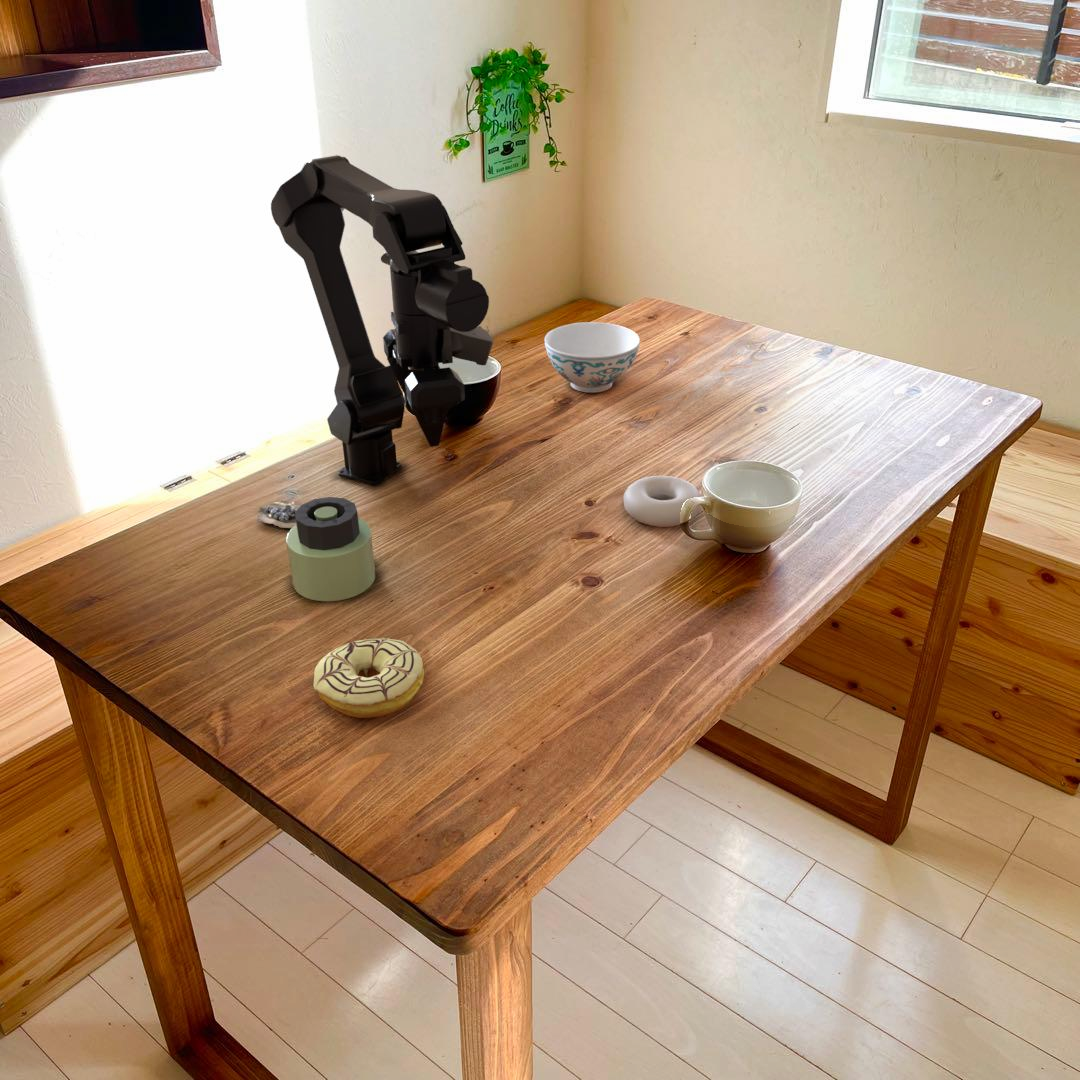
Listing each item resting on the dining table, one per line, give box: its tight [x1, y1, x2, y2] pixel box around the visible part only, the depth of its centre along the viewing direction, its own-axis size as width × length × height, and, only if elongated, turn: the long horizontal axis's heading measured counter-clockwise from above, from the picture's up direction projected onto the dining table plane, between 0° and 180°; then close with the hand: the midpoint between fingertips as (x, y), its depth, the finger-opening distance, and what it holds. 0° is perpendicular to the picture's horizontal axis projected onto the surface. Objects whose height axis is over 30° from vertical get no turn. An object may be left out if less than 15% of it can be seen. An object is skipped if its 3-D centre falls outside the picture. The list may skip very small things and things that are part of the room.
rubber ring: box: [295, 496, 360, 550], centre depth 126 cm, size 7×7×3 cm
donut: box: [622, 475, 702, 528], centre depth 141 cm, size 10×4×10 cm
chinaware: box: [543, 321, 641, 393], centre depth 175 cm, size 15×15×8 cm
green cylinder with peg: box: [285, 507, 376, 602], centre depth 127 cm, size 10×10×9 cm
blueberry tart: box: [256, 500, 302, 530], centre depth 141 cm, size 7×8×2 cm
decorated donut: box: [313, 637, 425, 719], centre depth 111 cm, size 10×11×4 cm
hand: (426, 429), depth 136 cm, fingers open, 9 cm apart
